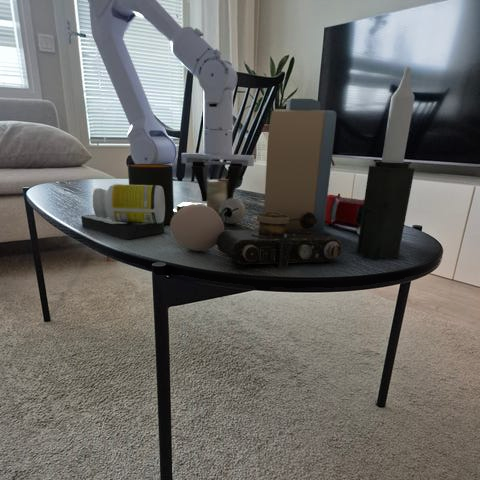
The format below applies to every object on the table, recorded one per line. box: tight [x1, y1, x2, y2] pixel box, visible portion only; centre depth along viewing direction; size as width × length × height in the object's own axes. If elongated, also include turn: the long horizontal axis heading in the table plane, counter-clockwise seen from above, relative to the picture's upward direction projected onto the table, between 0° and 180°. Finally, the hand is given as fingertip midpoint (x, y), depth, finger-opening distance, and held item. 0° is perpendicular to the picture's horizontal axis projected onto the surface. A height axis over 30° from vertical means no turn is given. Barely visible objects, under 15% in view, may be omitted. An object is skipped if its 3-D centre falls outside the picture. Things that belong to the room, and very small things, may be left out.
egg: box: [169, 204, 225, 252], centre depth 63 cm, size 7×7×10 cm
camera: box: [216, 212, 343, 269], centre depth 59 cm, size 16×7×8 cm
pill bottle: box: [92, 183, 165, 223], centre depth 70 cm, size 6×6×11 cm
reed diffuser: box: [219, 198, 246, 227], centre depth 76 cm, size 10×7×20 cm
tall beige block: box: [263, 98, 337, 234], centre depth 72 cm, size 21×10×22 cm, turn 168°
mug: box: [127, 163, 175, 225], centre depth 83 cm, size 8×12×10 cm
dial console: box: [176, 201, 224, 222], centre depth 89 cm, size 12×9×3 cm
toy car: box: [324, 193, 364, 229], centre depth 81 cm, size 6×14×5 cm
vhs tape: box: [80, 214, 165, 240], centre depth 75 cm, size 14×8×2 cm, turn 48°
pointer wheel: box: [205, 178, 229, 207], centre depth 87 cm, size 5×5×5 cm
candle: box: [356, 66, 416, 261], centre depth 60 cm, size 5×5×25 cm
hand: (217, 201), depth 88 cm, fingers closed on pointer wheel, 5 cm apart
